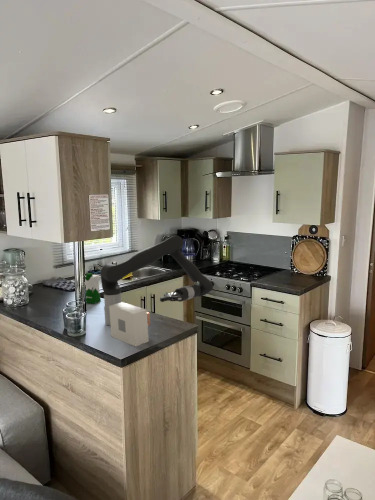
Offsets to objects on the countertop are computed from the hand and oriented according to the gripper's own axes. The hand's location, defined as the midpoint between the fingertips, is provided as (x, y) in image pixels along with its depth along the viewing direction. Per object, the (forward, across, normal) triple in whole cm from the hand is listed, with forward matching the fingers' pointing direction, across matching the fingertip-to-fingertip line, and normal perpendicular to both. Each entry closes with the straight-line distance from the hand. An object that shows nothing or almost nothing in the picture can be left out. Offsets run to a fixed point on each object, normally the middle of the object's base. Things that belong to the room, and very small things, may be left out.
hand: (161, 299), depth 202 cm
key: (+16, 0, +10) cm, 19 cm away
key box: (+21, 0, +15) cm, 26 cm away
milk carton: (-1, -71, +15) cm, 73 cm away
